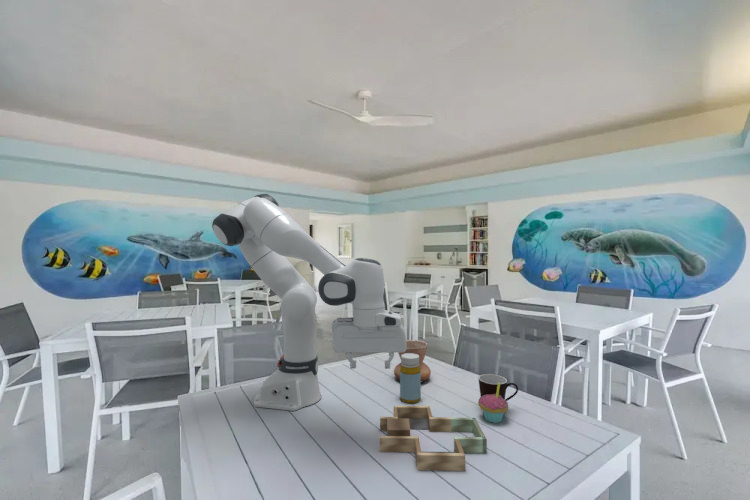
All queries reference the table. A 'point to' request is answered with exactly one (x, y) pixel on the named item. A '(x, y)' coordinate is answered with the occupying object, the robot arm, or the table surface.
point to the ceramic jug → (419, 349)
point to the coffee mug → (494, 385)
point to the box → (424, 420)
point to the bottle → (410, 378)
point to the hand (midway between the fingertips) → (370, 367)
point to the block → (398, 427)
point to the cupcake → (493, 406)
